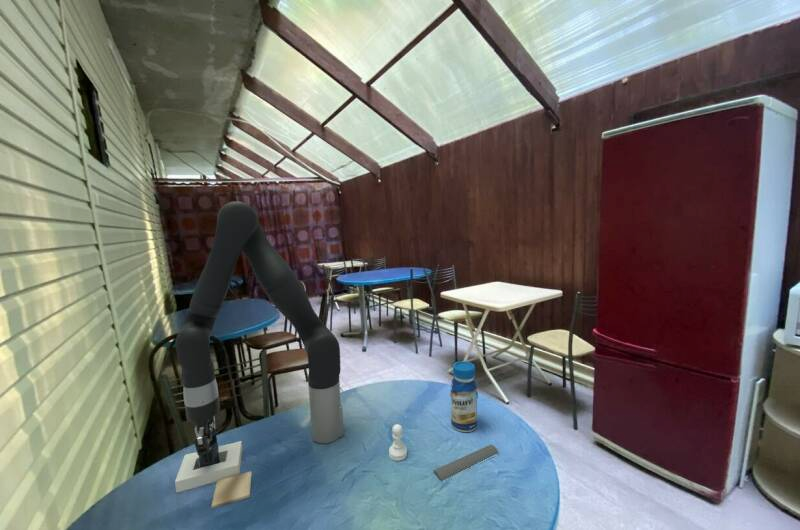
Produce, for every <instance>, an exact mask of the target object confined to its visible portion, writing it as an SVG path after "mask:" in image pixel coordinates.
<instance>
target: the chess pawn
mask: <svg viewBox="0 0 800 530" xmlns="http://www.w3.org/2000/svg"><path fill="white" fill-rule="evenodd" d="M391 435H392V438H393V439H394V441H393V442H392V445H391V446H389V449H388V456H389V458H390V459H391V461H396V462H401V461H403V460H405V459H406V458H407V456H408V449H407V446H406V445H404V443H403V441H402V440H401V438H403V436H404V435H403V427H402V425H400V424H399V423H396V424H394V425H393V426H392V434H391Z"/></svg>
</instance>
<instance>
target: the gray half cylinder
mask: <svg viewBox="0 0 800 530" xmlns="http://www.w3.org/2000/svg"><path fill="white" fill-rule="evenodd" d="M497 453H498V454H499V450H498V448H496V446H494V445H493V444H489V445H487V446H485V447H483V448H480V449H478V450H476V451H474V452H470V453H469V454H467V455H465V456H462V457H460V458H457V459H456V460H453V461H451V462H448V463H446V464H444V465H442V466H439V467H437V468H435V469H433V473H435V475H436V476H437V477H438V478H439V480H440V481H441V482H444V481H446V480H448V479H450V478H452V477H454V476H453V475H455V474H457V473H459V472H461V471H463V470H465V469H467V468H469V469H471V468H470V467H471V466H473V465H475V464H477V463H478V462H481V461H483V460H485V459H487V458H489V457H491V456H493V455H495V454H497ZM467 470H468V469H467ZM465 471H466V470H465ZM463 472H464V471H463ZM461 473H462V472H461ZM459 474H460V473H459ZM457 475H458V474H457ZM451 476H452V477H451ZM455 476H456V475H455ZM449 477H450V478H449ZM447 478H448V479H447ZM445 479H446V480H445ZM443 480H444V481H443Z"/></svg>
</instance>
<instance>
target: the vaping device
mask: <svg viewBox="0 0 800 530" xmlns="http://www.w3.org/2000/svg"><path fill="white" fill-rule="evenodd" d="M212 432H213V434H212V436H213V439H212V441H211V447H212V449H211V451H212V459H213V460H212V463H210V464H206V465H203V464H202V457H201V455H199V461H200V468H202V467H206V466H210V465H214V464H218V463H221V462H220V460H219V451H218V447H219V443H218V438H217V437H218V436H217V429H216V430H213V428H212ZM208 437H210V436H207V438H208Z"/></svg>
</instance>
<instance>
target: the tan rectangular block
mask: <svg viewBox="0 0 800 530" xmlns="http://www.w3.org/2000/svg"><path fill="white" fill-rule="evenodd" d="M251 484H252V471H251V470H250V471H247V472H244V473H240V474H239V475H236V476H232V477H229V478H225V479H221V480H218V481H217V482H216V485H215V488H214V489H215V490H214V493H213V497H212V501H211V502H212V503H211V509H215V508H218V507H221V506H225V505H228V504H231V503H234V502H238V501H242V500H244V499H247V498H250V497H251Z"/></svg>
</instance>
